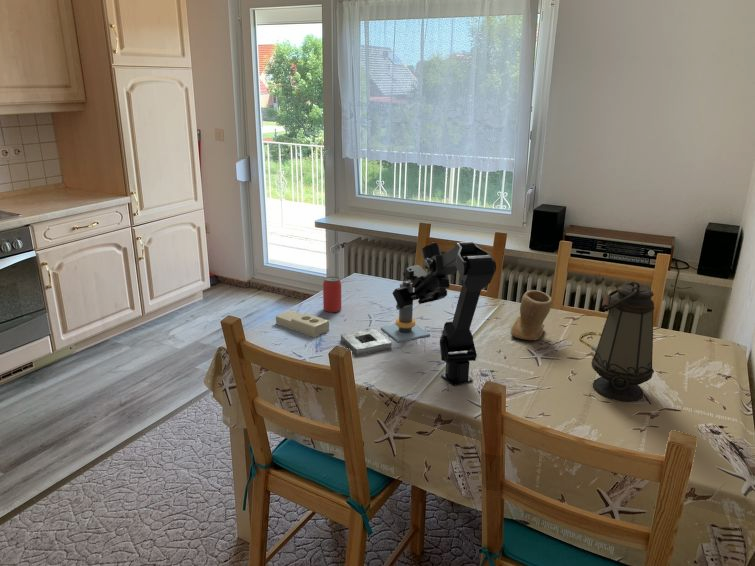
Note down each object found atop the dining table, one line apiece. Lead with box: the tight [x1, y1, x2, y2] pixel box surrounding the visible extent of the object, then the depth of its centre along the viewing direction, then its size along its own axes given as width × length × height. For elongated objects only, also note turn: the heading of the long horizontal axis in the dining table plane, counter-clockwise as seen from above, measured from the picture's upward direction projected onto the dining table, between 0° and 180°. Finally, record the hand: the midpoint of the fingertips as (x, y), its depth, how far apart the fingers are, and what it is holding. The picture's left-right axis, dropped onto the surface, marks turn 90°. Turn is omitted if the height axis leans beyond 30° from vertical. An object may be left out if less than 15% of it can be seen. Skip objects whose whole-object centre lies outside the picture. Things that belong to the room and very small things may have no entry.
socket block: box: [340, 328, 393, 356], centre depth 172 cm, size 12×12×2 cm
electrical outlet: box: [275, 309, 330, 338], centre depth 184 cm, size 7×4×18 cm
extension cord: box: [579, 331, 602, 352], centre depth 176 cm, size 12×16×2 cm
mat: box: [380, 323, 431, 343], centre depth 182 cm, size 12×12×1 cm
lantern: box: [591, 280, 655, 403], centre depth 143 cm, size 18×15×30 cm
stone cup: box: [510, 289, 553, 341], centre depth 180 cm, size 15×12×15 cm
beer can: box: [322, 275, 342, 313], centre depth 198 cm, size 7×7×12 cm
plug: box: [395, 280, 416, 333], centre depth 179 cm, size 6×6×17 cm
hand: (408, 305), depth 178 cm, fingers open, 9 cm apart
